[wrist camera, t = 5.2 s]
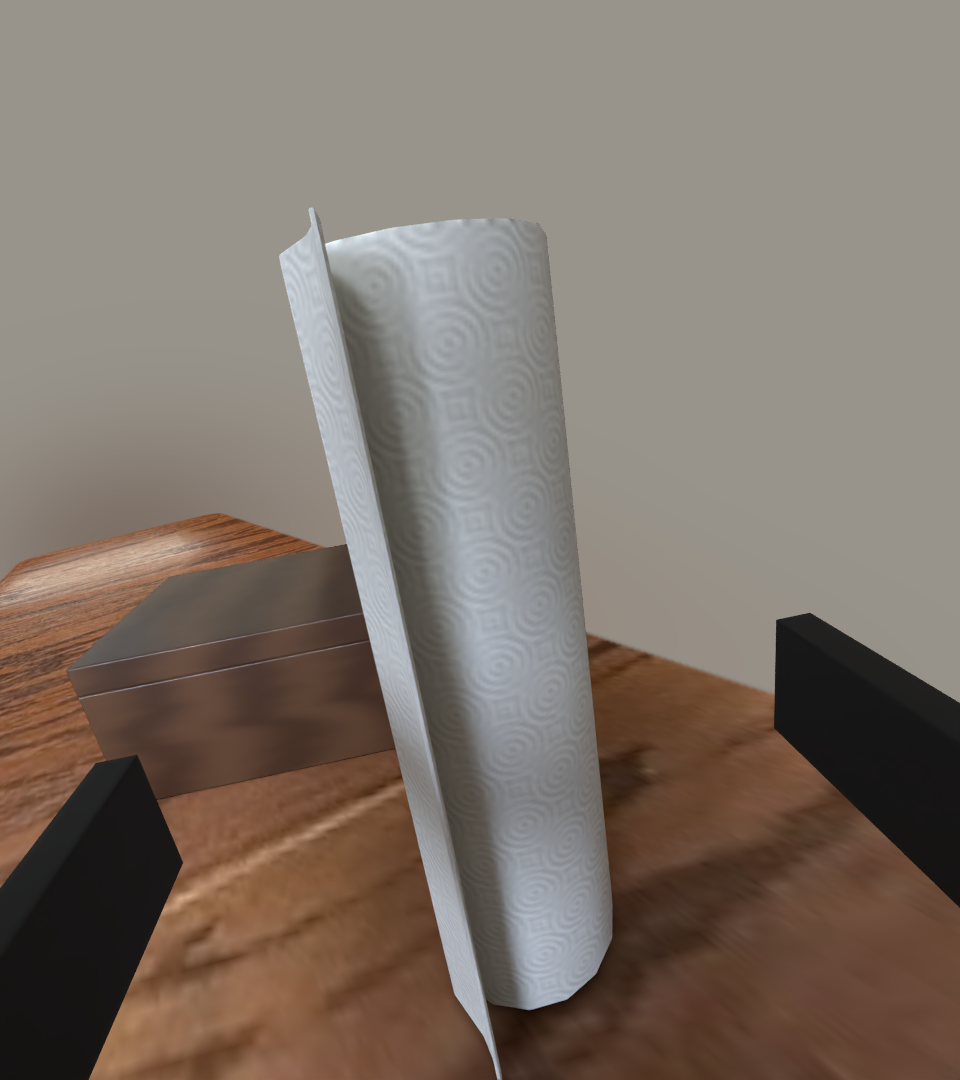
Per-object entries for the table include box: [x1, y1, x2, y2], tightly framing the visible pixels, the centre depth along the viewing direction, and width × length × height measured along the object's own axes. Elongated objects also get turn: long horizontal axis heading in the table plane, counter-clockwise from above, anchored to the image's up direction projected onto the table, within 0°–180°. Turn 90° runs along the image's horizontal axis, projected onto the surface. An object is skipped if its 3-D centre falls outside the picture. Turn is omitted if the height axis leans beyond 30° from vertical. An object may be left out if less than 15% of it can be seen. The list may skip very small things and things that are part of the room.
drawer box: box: [66, 544, 396, 800], centre depth 33 cm, size 16×12×8 cm
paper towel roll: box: [279, 208, 613, 1080], centre depth 16 cm, size 7×6×21 cm
